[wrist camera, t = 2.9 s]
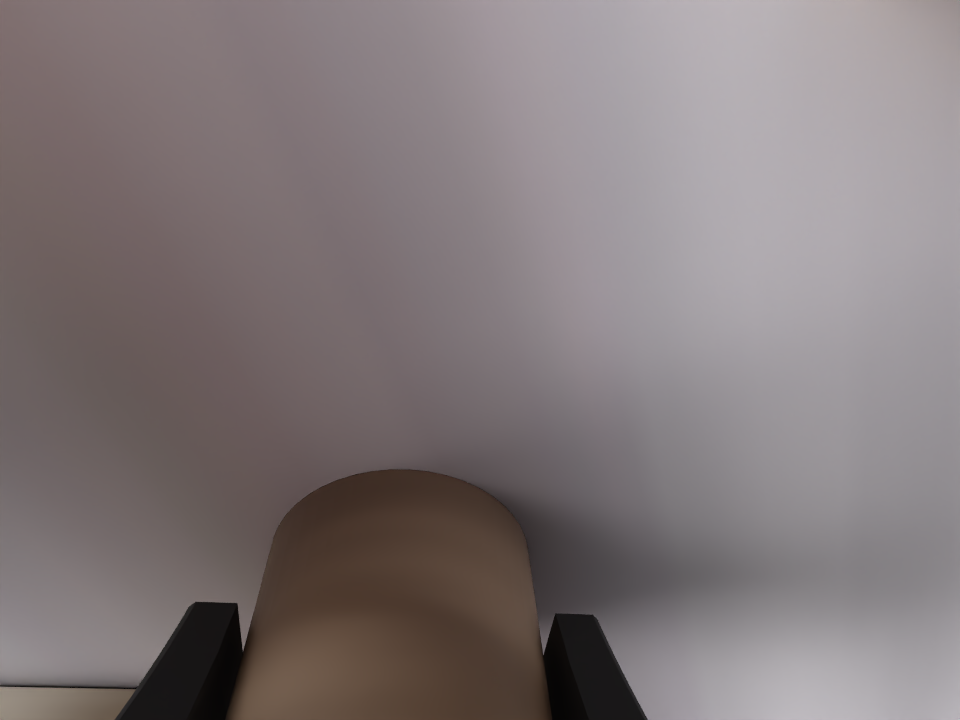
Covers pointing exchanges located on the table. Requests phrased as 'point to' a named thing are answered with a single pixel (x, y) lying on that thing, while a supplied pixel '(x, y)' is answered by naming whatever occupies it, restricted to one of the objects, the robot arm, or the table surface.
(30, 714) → the pedestal
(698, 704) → the table surface
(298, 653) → the walnut cylinder
